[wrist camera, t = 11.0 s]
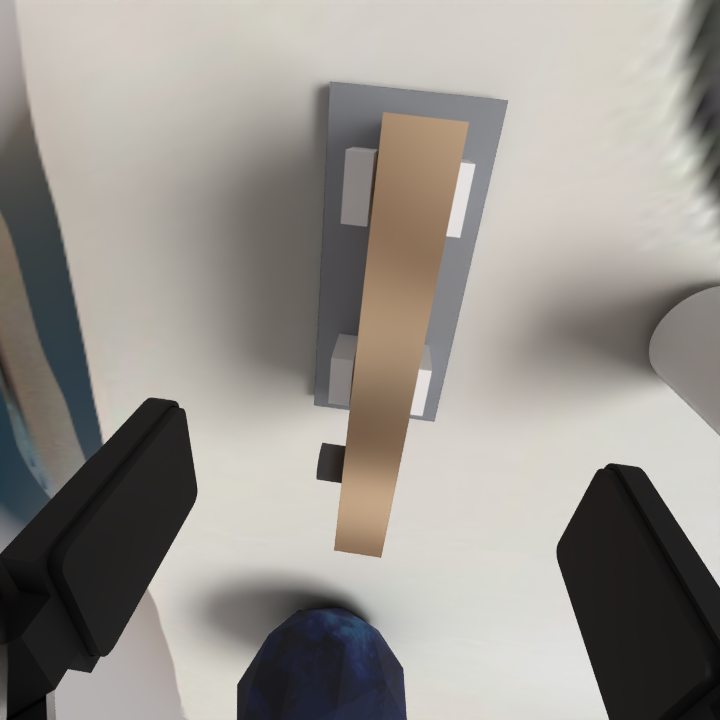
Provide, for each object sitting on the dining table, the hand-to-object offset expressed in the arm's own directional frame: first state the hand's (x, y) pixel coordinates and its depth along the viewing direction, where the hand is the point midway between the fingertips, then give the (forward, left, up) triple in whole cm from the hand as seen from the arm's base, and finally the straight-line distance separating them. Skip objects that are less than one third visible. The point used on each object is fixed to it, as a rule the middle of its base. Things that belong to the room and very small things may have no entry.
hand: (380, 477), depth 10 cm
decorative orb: (+36, -1, -16) cm, 40 cm away
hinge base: (0, 0, -16) cm, 16 cm away
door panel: (+1, 0, -15) cm, 15 cm away
